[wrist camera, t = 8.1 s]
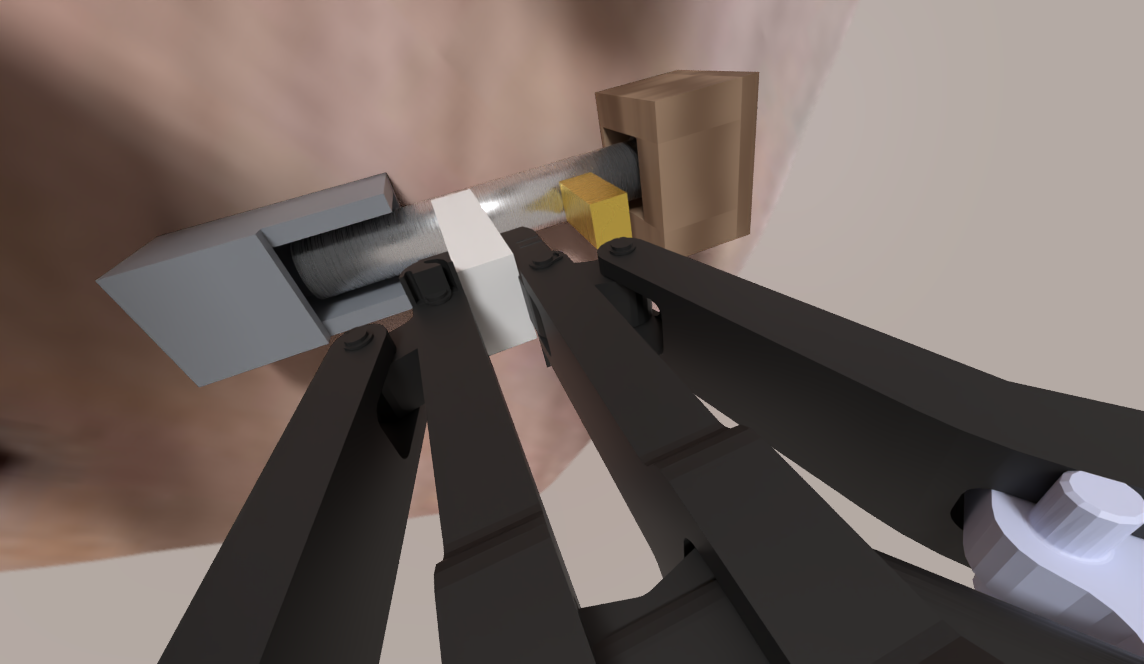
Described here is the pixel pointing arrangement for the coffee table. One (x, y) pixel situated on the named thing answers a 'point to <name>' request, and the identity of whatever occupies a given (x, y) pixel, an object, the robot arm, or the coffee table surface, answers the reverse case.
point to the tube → (530, 198)
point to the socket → (687, 154)
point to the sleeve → (250, 284)
